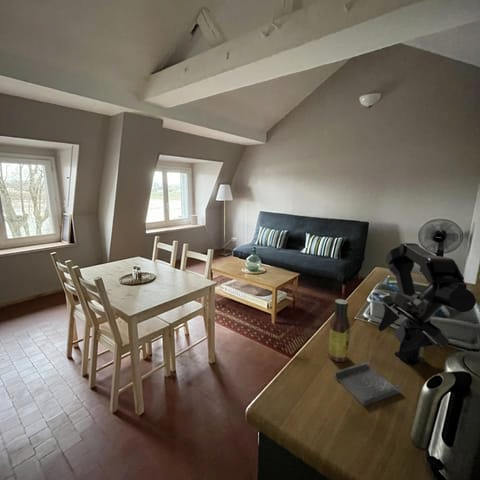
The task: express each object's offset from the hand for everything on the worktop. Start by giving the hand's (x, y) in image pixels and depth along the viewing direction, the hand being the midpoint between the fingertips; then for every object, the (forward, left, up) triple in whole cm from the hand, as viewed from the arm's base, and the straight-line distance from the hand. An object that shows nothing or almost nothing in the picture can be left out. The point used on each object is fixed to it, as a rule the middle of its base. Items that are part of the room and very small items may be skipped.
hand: (390, 340), depth 75 cm
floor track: (+6, -1, -14) cm, 15 cm away
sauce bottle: (+5, -14, -14) cm, 20 cm away
